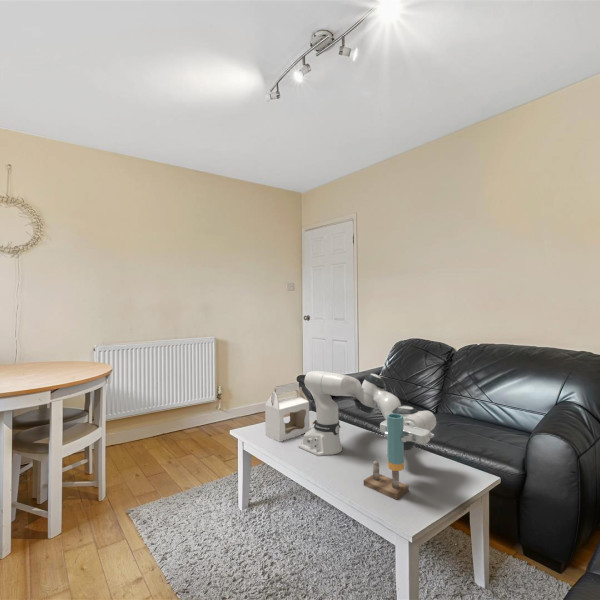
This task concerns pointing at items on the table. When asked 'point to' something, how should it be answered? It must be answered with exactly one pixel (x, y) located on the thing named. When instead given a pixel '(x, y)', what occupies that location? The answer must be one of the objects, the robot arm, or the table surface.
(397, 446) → the sleeve
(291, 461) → the table surface
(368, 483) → the pin board
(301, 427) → the gable box
